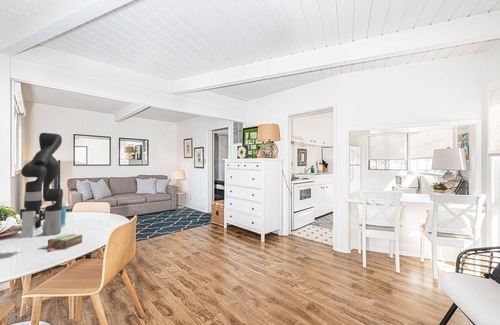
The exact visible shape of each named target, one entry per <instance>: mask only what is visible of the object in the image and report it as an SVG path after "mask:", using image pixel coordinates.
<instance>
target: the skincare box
mask: <svg viewBox="0 0 500 325" xmlns="http://www.w3.org/2000/svg"><path fill="white" fill-rule="evenodd" d="M40 209H41V210H44V209H42V208H40ZM35 216H39V214H36V211H25V212H22V220H21V234H20V237H21V238H22V239H23V238H24V239H25V238H26V239H27V238H28V239H29V238H31V239H32V238H35V237H37V236H38V235H41V234H42V235H43V221H44V220H42V221H41V226H40V227H39V228H36V218H35ZM38 219H39V218H38Z"/></svg>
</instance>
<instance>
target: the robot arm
mask: <svg viewBox="0 0 500 325" xmlns="http://www.w3.org/2000/svg"><path fill="white" fill-rule="evenodd" d="M62 139H63V138H62V136H61V134H58V133H49V132H41V133H39V137H38V142H39V148H40V150H38V151H37V152H36V153H35V155H34V156H33V157H32V160H30V161H29V162H27V163H26V164H24V165H23V167H22V168H21V171H20V172H21V175H22V176H23V177H24V178H36V179H35V180H32V181H31V180H30V181H27V182H26V183H25V191H24V196H23V197H24V200H23V208H21V209H20V210H19V213H20V214H19V219H20V220H21V221H22V212H25V211H36V214H39V216H35V218H36V228H39V227H40V226H41V221H42V220H43V228H42V235H44V236H54V235H58V234H59V235H60V233H61V232H62V227H61V214H62V204H63V197H64V190H63V189H62V188H50V186H51V185H52V183H53V181H55V179H56V178H57V177H58V175H59V174H60V163H59V161H58V160H57V159H56V158H55V156H54V153H56V151H57V150H58V149H59V148H60V147H61V145H62V142H63V140H62ZM43 202H55V203H52V204H53V205H50V204H49V205H50V206H47V205H46V206H45V208H44V209H43V210H41V209H42V208H41V207H42V206H43ZM38 218H39V219H38Z"/></svg>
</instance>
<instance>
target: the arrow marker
mask: <svg viewBox="0 0 500 325" xmlns="http://www.w3.org/2000/svg"><path fill="white" fill-rule="evenodd" d="M57 248H58V247H53V248H48V249H47V251H48V252H53V251H55V249H56V250H58V249H57Z"/></svg>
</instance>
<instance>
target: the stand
mask: <svg viewBox="0 0 500 325" xmlns="http://www.w3.org/2000/svg"><path fill="white" fill-rule="evenodd" d="M82 243H83V234H74V233H73V234H71V233H65V234H61V235H58V236H55V237H53V238H50V239H47V249H51V248H53V247H58V248H57V249H56V250H58V249H59V250H68V249H70V248H72V247H75V246H77V245H79V244H82ZM69 247H70V248H69Z"/></svg>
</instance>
